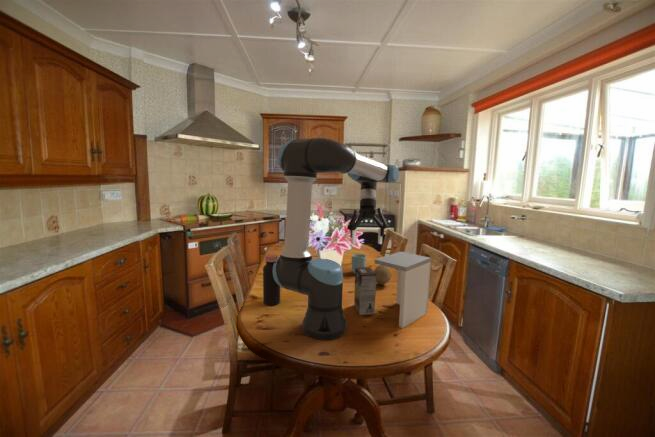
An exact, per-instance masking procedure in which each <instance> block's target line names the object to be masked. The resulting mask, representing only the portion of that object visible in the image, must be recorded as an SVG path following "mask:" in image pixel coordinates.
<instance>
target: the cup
mask: <svg viewBox="0 0 655 437" xmlns="http://www.w3.org/2000/svg"><path fill="white" fill-rule="evenodd" d="M366 266H367V255H366V254H362V253H354V254H352V255H351V271H352V273H353V274H354V275H355V268H361V267H366Z"/></svg>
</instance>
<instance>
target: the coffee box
mask: <svg viewBox="0 0 655 437" xmlns="http://www.w3.org/2000/svg"><path fill="white" fill-rule="evenodd" d="M376 277H377V274H376V273H375V272H374V270H373V268H372V267H370V266H367V267H361V268H355V274H354V298H353V299H354V300H353V301H354V302H353V303H354V307H355V309H356V311H357V312H358V315H360V316H362V315H363V316H365V315H375V312H376V292H377V291H376V290H377V282H376Z"/></svg>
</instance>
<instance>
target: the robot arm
mask: <svg viewBox="0 0 655 437" xmlns="http://www.w3.org/2000/svg"><path fill="white" fill-rule="evenodd" d="M277 163H278V166H280V167H279V168H280V170H281V171H282V172H283V178H284V179H285V180H286V181H287V192H286V193H287V194H286V210H285V211H286V215H285V231H284V232H285V235H284V248H283V250H281V252H280V253H279V256H278V258H277V259H276V263H274V265H273V278H274V280H275V282H276V283H277V284H278V285H279V286H280V288H281V287H282V288H283V289H285V290H288V291H293V292H296V293H299V294H302V295H304V296H307V308H306V312H305V315H304V318H303V319H302V331H303V333H304V334H305V335H306V336H308V337H309V338H312V339H315V340H326V341H328V340H334V339H338V338H340V337H343V335H344V334H345V333H347V325H348V324H347V320H346V317H345V314H344V310H343V287H344V286H343V282H344V274H343V267H342V265H341V264H340V263H338V262H337V261H335V260H332V259H328V258H313V253H312V252H311V251H310V250H309V244H310V229H311V228H310V227H311V211H312V210H311V208H312V207H311V206H312V191H313V190H312V189H313V183H314V182H315V181H316V180H317V179H318V174H327V173H337V174H338V173H339V174H347V175H348V177H349V178H350V179H351V180H353V181H354V182H356V183H358V184H359V185H360V197H359V198H360V199H359V210H356V209H354V210H353V214H352V217H350V218H351V219H350V221H349V223H348V225H347V227H346V230H349V231H350V232H349V233H350V234H349V237H350V238H351V240H350V241H351V245H353V246H356V245H357V243H356V242H357V231H356V230H357V228H358V227H359V226H360V224H361V223H362V222H363V221H364V220H371V219H372V220H373V221H374V222H375V224H376V225H377V226H378V227H379V228H377V229H378V230H377V231H378V233H377V234H378V235H377V244H378V245H382V244H383V237H384V236H385V229H388V228H389V224H388V222H387V220H386V218H385V215H384V214H383V209H382V208H380V207H378V208H376V207H377V183H387V184H390V183H392V184H394V183H396V182H398V180H399V176H400V170H399V167H398V165H396V164H385V163H383V162H380V161H378V160H376V159H372V158H370V157H367V156H366V155H363V154H360V153H358V152H356V150H355V149H354V148H353V147H351V146H350V145H347V144H344V143H342V142H340V141H337V140H334V139H331V138H326V137H311V138H309V137H308V138H295V139H292V140H291V139H290V140H287V141H285V142H284V143H283V144H282V145H281V146H280V148H279V151H278V154H277ZM376 214H377V215H378V217H379V219H380V220H379V219H378V218H377V216H376Z"/></svg>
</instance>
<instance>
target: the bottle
mask: <svg viewBox="0 0 655 437" xmlns="http://www.w3.org/2000/svg"><path fill="white" fill-rule="evenodd" d="M278 257H279V256H278V254H277V253H276V254H275V253H270V254H269V253H267V254H265V259H264V260H265V261H264V262H265V264H264V266H263V268H262V282H263V283H262V286H263V287H262V289H263V290H262V291H263V299H262V301H263V302H262V303H263V304H264V305H265V306H268V307H269V306H271V307H272V306H273V307H274V306H277V305H278V304H280V302H281V286H279V285H278V284H277V283H276V282H275V280H274V278H273V265H274V263H276V259H277V258H278Z"/></svg>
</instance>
